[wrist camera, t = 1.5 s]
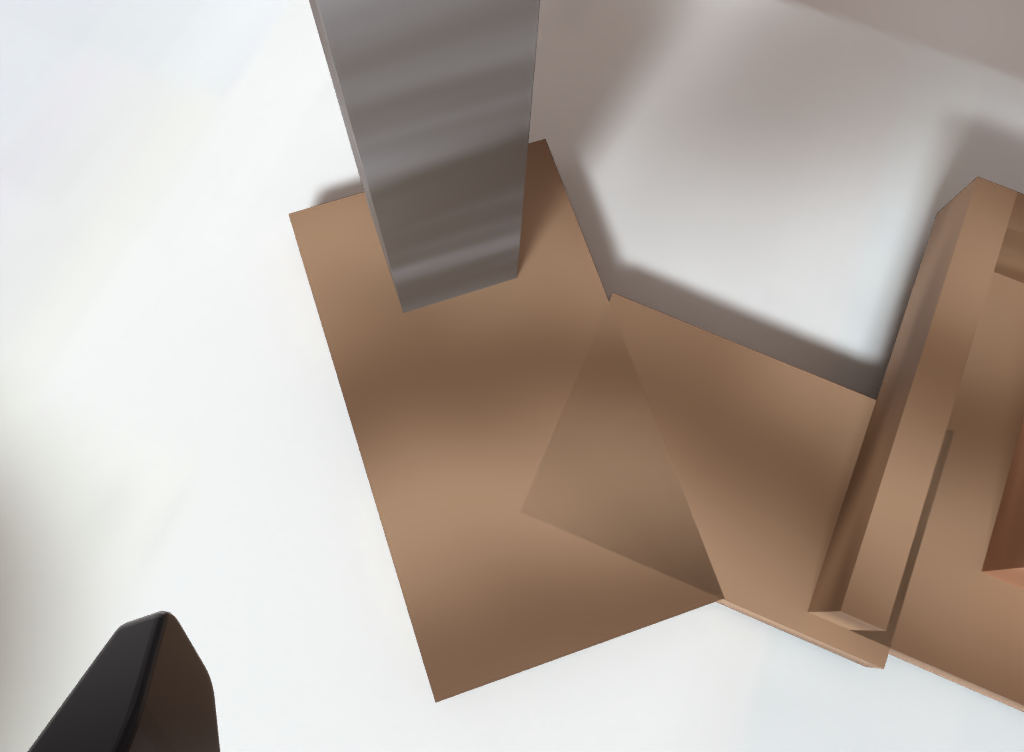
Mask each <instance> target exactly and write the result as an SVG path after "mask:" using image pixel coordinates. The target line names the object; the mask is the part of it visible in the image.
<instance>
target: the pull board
mask: <svg viewBox="0 0 1024 752" xmlns="http://www.w3.org/2000/svg"><path fill="white" fill-rule="evenodd" d="M309 2H310V5H311V9H312V12H313V16H314V19H315V23H316V26H317V30H318V33H319V37H320V40H321V44H322V47H323V51H324V54H325V57H326V61H327V64H328V68H329V71H330V75H331V78H332V82H333V85H334V89H335V92H336V96H337V99H338V103H339V106H340V109H341V113H342V116H343V120H344V123H345V127H346V130H347V134H348V137H349V141H350V144H351V148H352V151H353V155H354V158H355V161H356V165H357V168H358V172H359V175H360V179H361V182H362V186H363V189H364V192H362V193H359V194H355V195H352V196H348V197H345V198H342V199H338V200H335V201H331V202H328V203H324V204H321V205H318V206H314V207H311V208H307V209H304V210H301V211H297V212H294V213H290V214H289V217H290V220H291V224H292V227H293V230H294V234H295V237H296V240H297V244H298V247H299V250H300V254H301V257H302V260H303V264H304V267H305V270H306V274H307V277H308V280H309V284H310V287H311V290H312V294H313V297H314V300H315V304H316V307H317V310H318V313H319V317H320V320H321V323H322V327H323V330H324V333H325V337H326V340H327V343H328V347H329V350H330V353H331V357H332V360H333V363H334V367H335V370H336V373H337V377H338V380H339V383H340V387H341V390H342V393H343V397H344V400H345V403H346V407H347V410H348V413H349V417H350V420H351V423H352V427H353V430H354V433H355V436H356V440H357V443H358V446H359V450H360V453H361V456H362V460H363V463H364V466H365V470H366V473H367V476H368V480H369V483H370V486H371V490H372V493H373V496H374V500H375V503H376V506H377V510H378V513H379V516H380V520H381V523H382V526H383V530H384V533H385V536H386V540H387V543H388V546H389V549H390V553H391V556H392V559H393V563H394V566H395V569H396V573H397V576H398V579H399V583H400V586H401V589H402V593H403V596H404V599H405V603H406V606H407V609H408V613H409V616H410V619H411V623H412V626H413V629H414V633H415V636H416V639H417V643H418V646H419V649H420V653H421V656H422V659H423V663H424V666H425V669H426V672H427V676H428V679H429V682H430V686H431V689H432V692H433V696H434V699H435V702H439V701H441V700H444V699H447V698H450V697H452V696H455V695H458V694H461V693H464V692H466V691H469V690H472V689H475V688H477V687H480V686H483V685H486V684H488V683H491V682H494V681H497V680H500V679H502V678H505V677H508V676H511V675H513V674H516V673H519V672H522V671H524V670H527V669H530V668H533V667H536V666H538V665H541V664H544V663H547V662H549V661H552V660H555V659H558V658H561V657H563V656H566V655H569V654H572V653H574V652H577V651H580V650H583V649H585V648H588V647H591V646H594V645H597V644H599V643H602V642H605V641H608V640H610V639H613V638H616V637H619V636H621V635H624V634H627V633H630V632H633V631H635V630H638V629H641V628H644V627H646V626H649V625H652V624H655V623H657V622H660V621H663V620H666V619H669V618H671V617H674V616H677V615H680V614H682V613H685V612H688V611H691V610H694V609H696V608H699V607H702V606H705V605H707V604H710V603H713V602H718V603H720V604H722V605H724V606H727V607H729V608H731V609H734V610H736V611H738V612H741V613H743V614H745V615H748V616H750V617H752V618H754V619H757V620H759V621H761V622H764V623H766V624H768V625H771V626H773V627H775V628H778V629H780V630H782V631H784V632H787V633H789V634H791V635H794V636H796V637H798V638H801V639H803V640H805V641H808V642H810V643H812V644H814V645H817V646H819V647H821V648H824V649H826V650H828V651H831V652H833V653H835V654H838V655H840V656H842V657H845V658H847V659H849V660H851V661H854V662H856V663H858V664H861V665H863V666H865V667H872V668H880V669H884V666H885V663H886V660H887V656H888V654H890V655H893V656H895V657H897V658H900V659H902V660H904V661H907V662H909V663H911V664H913V665H916V666H918V667H920V668H923V669H925V670H927V671H930V672H932V673H934V674H937V675H939V676H941V677H944V678H946V679H948V680H951V681H953V682H955V683H958V684H960V685H962V686H965V687H967V688H969V689H972V690H974V691H976V692H978V693H981V694H983V695H985V696H988V697H990V698H992V699H995V700H997V701H999V702H1002V703H1004V704H1006V705H1009V706H1011V707H1013V708H1016V709H1018V710H1020V711H1023V712H1024V589H1021V588H1019V587H1017V586H1014V585H1012V584H1010V583H1007V582H1005V581H1002V580H1000V579H998V578H995V577H993V576H990V575H988V574H986V573H983V572H981V571H982V568H983V564H984V560H985V557H986V553H987V550H988V546H989V542H990V539H991V535H992V532H993V528H994V524H995V521H996V517H997V513H998V510H999V506H1000V503H1001V499H1002V495H1003V492H1004V488H1005V484H1006V481H1007V477H1008V474H1009V470H1010V466H1011V463H1012V459H1013V456H1014V452H1015V448H1016V445H1017V441H1018V437H1019V434H1020V430H1021V427H1022V423H1023V419H1024V194H1022V193H1019V192H1017V191H1014V190H1011V189H1009V188H1006V187H1003V186H1001V185H998V184H996V183H993V182H990V181H988V180H985V179H982V178H980V177H977V178H975V179H974V180H973V181H972V182H971V183H970V184H969V185H968V186H967V187H965V188H964V189H963V190H962V191H961V192H960V193H959V194H958V195H957V196H956V197H954V198H953V199H952V200H951V201H950V202H949V203H948V204H947V205H946V206H945V207H943V208H942V209H941V210H940V211H939V212H938V213H937V215H936V218H935V221H934V224H933V228H932V231H931V234H930V237H929V240H928V243H927V246H926V249H925V252H924V255H923V258H922V261H921V264H920V268H919V271H918V274H917V277H916V280H915V283H914V286H913V289H912V292H911V295H910V298H909V301H908V304H907V308H906V311H905V314H904V317H903V320H902V323H901V326H900V329H899V332H898V335H897V338H896V341H895V344H894V348H893V351H892V354H891V357H890V360H889V363H888V366H887V369H886V372H885V375H884V378H883V381H882V384H881V387H880V391H879V394H878V397H877V400H875V399H872V398H870V397H868V396H865V395H863V394H860V393H858V392H855V391H853V390H850V389H848V388H845V387H843V386H841V385H838V384H836V383H833V382H831V381H828V380H826V379H823V378H821V377H818V376H816V375H813V374H811V373H809V372H806V371H804V370H801V369H799V368H796V367H794V366H791V365H789V364H786V363H784V362H782V361H779V360H777V359H774V358H772V357H769V356H767V355H764V354H762V353H759V352H757V351H755V350H752V349H750V348H747V347H745V346H742V345H740V344H737V343H735V342H732V341H730V340H728V339H725V338H723V337H720V336H718V335H715V334H713V333H710V332H708V331H705V330H703V329H701V328H698V327H696V326H693V325H691V324H688V323H686V322H683V321H681V320H678V319H676V318H673V317H671V316H669V315H666V314H664V313H661V312H659V311H656V310H654V309H651V308H649V307H646V306H644V305H642V304H639V303H637V302H634V301H632V300H629V299H627V298H624V297H622V296H619V295H617V294H615V293H613V294H612V296H611V298H610V301H608V298H607V295H606V293H605V290H604V288H603V285H602V283H601V280H600V278H599V275H598V272H597V270H596V267H595V265H594V262H593V260H592V257H591V254H590V252H589V249H588V247H587V244H586V242H585V239H584V237H583V234H582V231H581V229H580V226H579V224H578V221H577V219H576V216H575V213H574V211H573V208H572V206H571V203H570V201H569V198H568V196H567V193H566V190H565V188H564V185H563V183H562V180H561V178H560V175H559V172H558V170H557V167H556V165H555V162H554V160H553V157H552V155H551V152H550V149H549V147H548V144H547V142H546V139H543V140H540V141H536V142H533V143H529V144H528V139H529V127H530V115H531V103H532V91H533V79H534V67H535V55H536V43H537V31H538V19H539V8H540V0H309Z"/></svg>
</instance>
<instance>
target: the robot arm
mask: <svg viewBox="0 0 1024 752" xmlns="http://www.w3.org/2000/svg"><path fill="white" fill-rule="evenodd" d="M28 752H220V745H219V736H218V726H217V716H216V706H215V697H214V691H213V686H212V682H211V679H210V676H209V674H208V671H207V669H206V667H205V666H204V664H203V662H202V661H201V659H200V657H199V655H198V654H197V652H196V650H195V649H194V647H193V645H192V644H191V642H190V640H189V638H188V637H187V635H186V633H185V632H184V630H183V628H182V626H181V625H180V623H179V622H178V620H177V619H176V618H175V617H174V616H173V615H172V614H171V613H170V612H166V611H160V612H157V613H154V614H151V615H148V616H145V617H142V618H139V619H136V620H133V621H130V622H127V623H125V624H123V625H121V626H120V627H119V628H118V629H117V630H116V632H115V633H114V634H113V635H112V637H111V638H110V639H109V641H108V642H107V644H106V645H105V646H104V648H103V649H102V650H101V652H100V653H99V655H98V656H97V657H96V659H95V660H94V661H93V663H92V664H91V666H90V667H89V668H88V670H87V671H86V672H85V674H84V675H83V677H82V678H81V679H80V681H79V682H78V683H77V685H76V686H75V688H74V689H73V690H72V692H71V693H70V694H69V696H68V697H67V698H66V700H65V701H64V703H63V704H62V705H61V707H60V708H59V709H58V711H57V712H56V714H55V715H54V716H53V718H52V719H51V720H50V722H49V723H48V725H47V726H46V727H45V729H44V730H43V731H42V733H41V734H40V736H39V737H38V738H37V740H36V741H35V742H34V744H33V745H32V747H31V748H30V749H29V751H28Z"/></svg>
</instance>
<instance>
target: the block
mask: <svg viewBox="0 0 1024 752" xmlns="http://www.w3.org/2000/svg"><path fill="white" fill-rule="evenodd" d="M981 572H983V573H986V574H988V575H990V576H993V577H995V578H998V579H1000V580H1002V581H1005V582H1007V583H1010V584H1012V585H1014V586H1017V587H1019V588H1021V589H1024V419H1023V423H1022V427H1021V430H1020V434H1019V437H1018V441H1017V445H1016V448H1015V452H1014V456H1013V459H1012V463H1011V466H1010V470H1009V474H1008V477H1007V481H1006V484H1005V488H1004V492H1003V495H1002V499H1001V503H1000V506H999V510H998V513H997V517H996V521H995V524H994V528H993V532H992V535H991V539H990V542H989V546H988V550H987V553H986V557H985V560H984V564H983V568H982V571H981Z"/></svg>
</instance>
